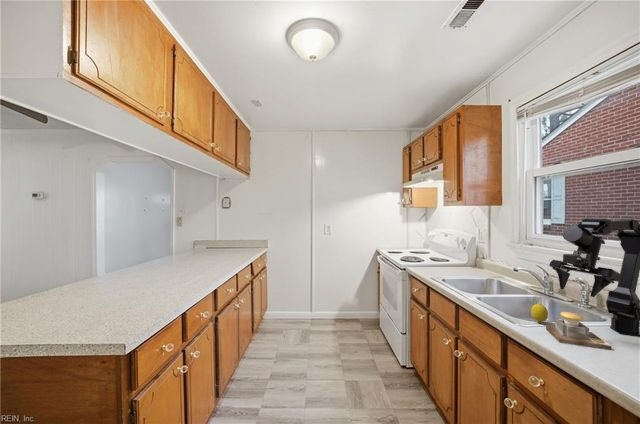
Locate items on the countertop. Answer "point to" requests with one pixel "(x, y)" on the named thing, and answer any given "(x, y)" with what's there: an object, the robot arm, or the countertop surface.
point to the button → (571, 318)
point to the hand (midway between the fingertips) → (576, 292)
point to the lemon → (539, 312)
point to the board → (576, 335)
